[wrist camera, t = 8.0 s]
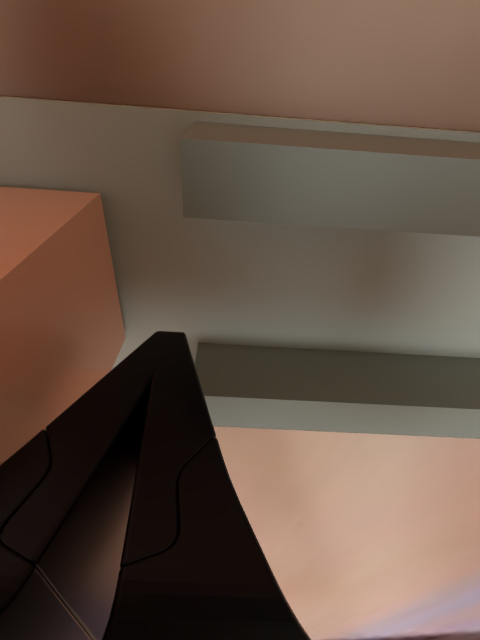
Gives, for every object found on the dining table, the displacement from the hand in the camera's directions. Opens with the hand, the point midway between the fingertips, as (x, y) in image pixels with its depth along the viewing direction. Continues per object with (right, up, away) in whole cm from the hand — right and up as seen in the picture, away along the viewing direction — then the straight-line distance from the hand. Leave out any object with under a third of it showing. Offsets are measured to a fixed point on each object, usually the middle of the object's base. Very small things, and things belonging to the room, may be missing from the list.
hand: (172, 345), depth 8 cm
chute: (+4, +2, +3) cm, 5 cm away
